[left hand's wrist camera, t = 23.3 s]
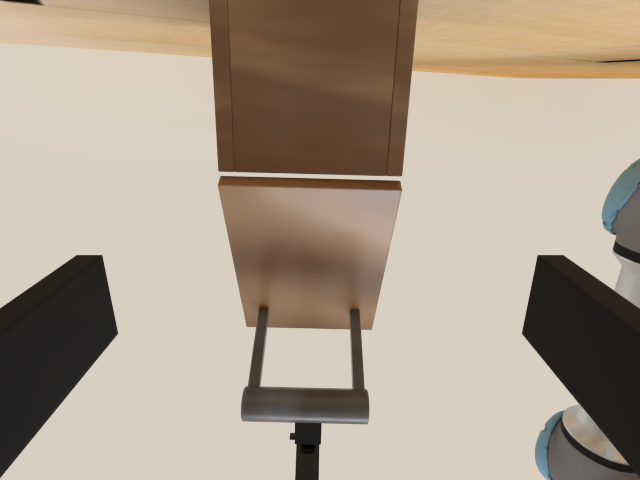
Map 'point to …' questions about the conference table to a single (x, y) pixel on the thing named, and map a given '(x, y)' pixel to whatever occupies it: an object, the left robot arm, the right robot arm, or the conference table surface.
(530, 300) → the left robot arm
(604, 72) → the conference table surface
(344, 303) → the lid
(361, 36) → the chest
